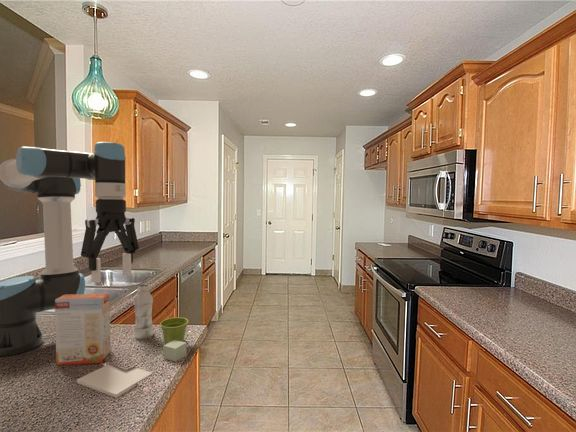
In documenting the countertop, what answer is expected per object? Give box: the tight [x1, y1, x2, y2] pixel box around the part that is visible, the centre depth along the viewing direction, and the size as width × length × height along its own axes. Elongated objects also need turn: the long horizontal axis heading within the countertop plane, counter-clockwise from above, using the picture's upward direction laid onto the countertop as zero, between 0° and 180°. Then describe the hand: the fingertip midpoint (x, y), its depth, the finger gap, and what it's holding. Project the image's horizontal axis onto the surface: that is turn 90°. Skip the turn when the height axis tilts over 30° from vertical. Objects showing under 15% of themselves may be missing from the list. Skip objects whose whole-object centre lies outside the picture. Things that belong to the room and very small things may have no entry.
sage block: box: [162, 340, 187, 362], centre depth 108 cm, size 5×5×5 cm
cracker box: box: [54, 293, 112, 366], centre depth 106 cm, size 14×6×21 cm, turn 96°
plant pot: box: [159, 316, 189, 345], centre depth 117 cm, size 9×9×9 cm
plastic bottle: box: [133, 284, 155, 340], centre depth 122 cm, size 6×7×20 cm
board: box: [76, 363, 153, 398], centre depth 95 cm, size 16×12×1 cm
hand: (112, 278), depth 95 cm, fingers open, 9 cm apart
